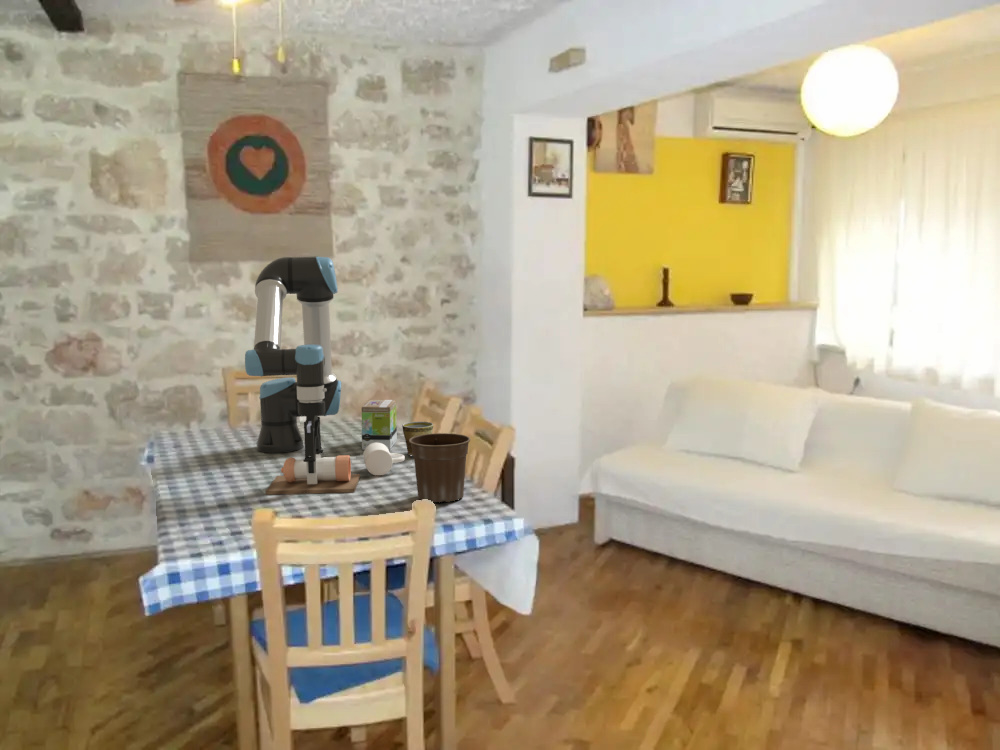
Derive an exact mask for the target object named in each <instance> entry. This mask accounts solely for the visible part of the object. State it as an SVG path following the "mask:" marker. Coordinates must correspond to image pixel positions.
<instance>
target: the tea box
mask: <svg viewBox="0 0 1000 750" xmlns="http://www.w3.org/2000/svg"><path fill="white" fill-rule="evenodd" d="M397 410H398V409H397V399H369V400H367V401H366V402H365V403H364V404H363V405H362V406H361V450H363V451H364V450H365V449H366V447H367V446H368V445H370V444H372V443H382V444H384V445H385V446H386V447H387V448H388V450H389V451H390V450H391V449H392V447H393V446H394V445H395V443H396V442H397V439H398V435H397V434H398V433H397V432H398V431H397V430H398V427H397V426H398V425H397V422H398V421H397V420H398V419H397V418H398V417H397V414H398V412H397Z"/></svg>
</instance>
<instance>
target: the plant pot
mask: <svg viewBox="0 0 1000 750" xmlns="http://www.w3.org/2000/svg"><path fill="white" fill-rule="evenodd" d="M409 442H410V443H411V446H412V455H413V456H414V457H413V460H414V469H415V470H414V471H415V478H416V480H415V481H416V488H417V497H418V500H420V499H428V500H431V501H433V502H439V503H438V504H441V503H443V502H446V503H451V502H450V501H454V502H456V501H455V500H458V499H460V498H462V497H463V498H464V492H465V490H464V489H465V479H466V478H465V477H466V466H467V455H468V453H469V443H470V442H471V437H470V436H468V435H465V434H459V433H449V432H448V433H447V432H446V433H443V432H441V433H440V432H438V433H437V432H436V433H432V434H425V435H419V436H415V437H412V438H410V440H409ZM463 498H462V499H463ZM460 500H461V499H460ZM458 501H459V500H458ZM440 502H441V503H440Z"/></svg>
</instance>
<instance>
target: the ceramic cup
mask: <svg viewBox="0 0 1000 750" xmlns="http://www.w3.org/2000/svg"><path fill="white" fill-rule="evenodd" d="M401 427H402V433H403V437H404V440H405V444H406V449H407V455H408V456H409V455H412V446H411V443H410V442H409V440H410V438H412V437H415V436H419V435H425V434H433V430H434V423H432V422H429V421H409V422H405V423H403V424H402V426H401ZM412 456H413V455H412Z"/></svg>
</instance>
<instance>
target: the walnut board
mask: <svg viewBox="0 0 1000 750" xmlns="http://www.w3.org/2000/svg"><path fill="white" fill-rule="evenodd" d="M360 478H361V474H360V473H351V477H350V481H337V480H328V481H323V480H317V484H307V479H296V480H295V481H294V482H288V481H286V479H285V477H284V475H276V477H275V478H274V480H273V481H272V482H271V483H270V485H269V486H268V487H267V489H266V490H265V494H267V495H296V494H297V495H299V494H300V495H301V494H302V495H303V494H333V493H334V494H335V493H337V494H339V493H342V494H343V493H355V491H356V489H357V487H358V483H359V482H360Z"/></svg>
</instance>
